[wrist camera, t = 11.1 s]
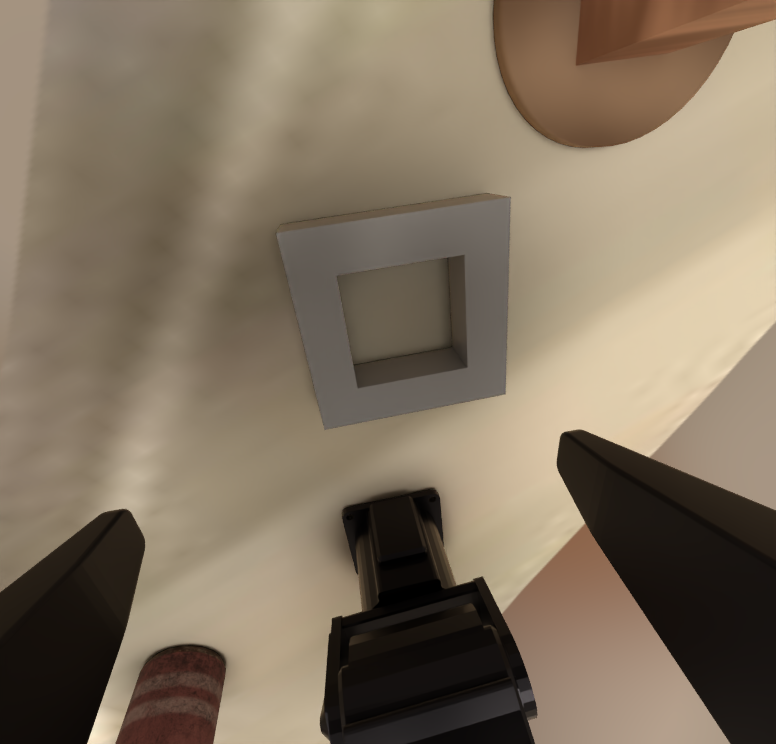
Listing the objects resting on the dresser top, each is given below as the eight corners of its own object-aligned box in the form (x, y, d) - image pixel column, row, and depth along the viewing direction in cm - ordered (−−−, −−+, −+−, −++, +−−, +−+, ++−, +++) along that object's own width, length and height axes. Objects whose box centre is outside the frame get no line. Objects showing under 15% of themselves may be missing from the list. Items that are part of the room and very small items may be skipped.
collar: (487, 372, 23) (505, 394, 21) (323, 403, 22) (324, 429, 20) (487, 193, 18) (510, 196, 16) (280, 224, 17) (275, 233, 15)
